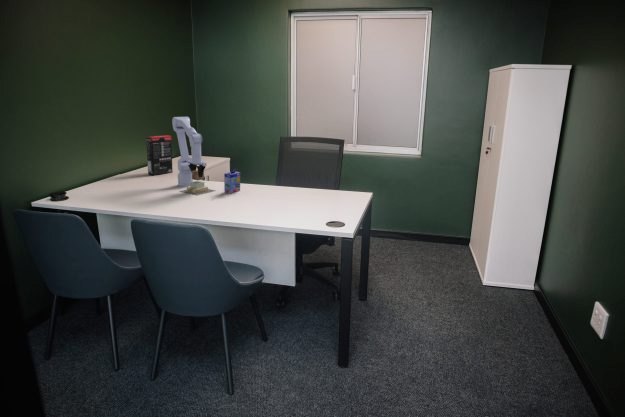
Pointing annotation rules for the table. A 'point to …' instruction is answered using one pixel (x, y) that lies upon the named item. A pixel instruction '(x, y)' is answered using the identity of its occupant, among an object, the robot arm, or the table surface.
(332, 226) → the table surface
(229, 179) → the ink cartridge box
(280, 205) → the table surface
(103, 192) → the table surface
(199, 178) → the walnut cube
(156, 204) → the table surface
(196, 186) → the sage block
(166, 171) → the graphics card box
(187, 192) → the desk mat
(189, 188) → the oak slab
